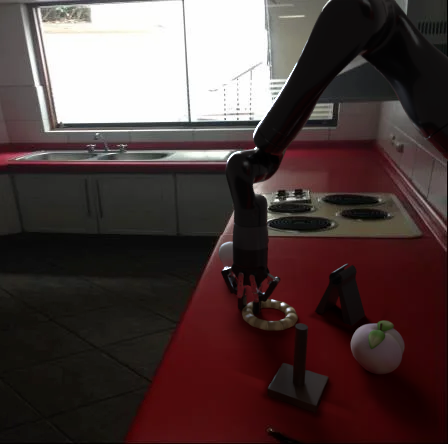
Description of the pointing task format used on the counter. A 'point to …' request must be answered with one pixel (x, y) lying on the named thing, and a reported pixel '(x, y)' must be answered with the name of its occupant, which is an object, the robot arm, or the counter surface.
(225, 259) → the lightbulb
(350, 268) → the phone stand
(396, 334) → the decorative fruit
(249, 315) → the beige segmented ring
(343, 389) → the counter surface
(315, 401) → the post
